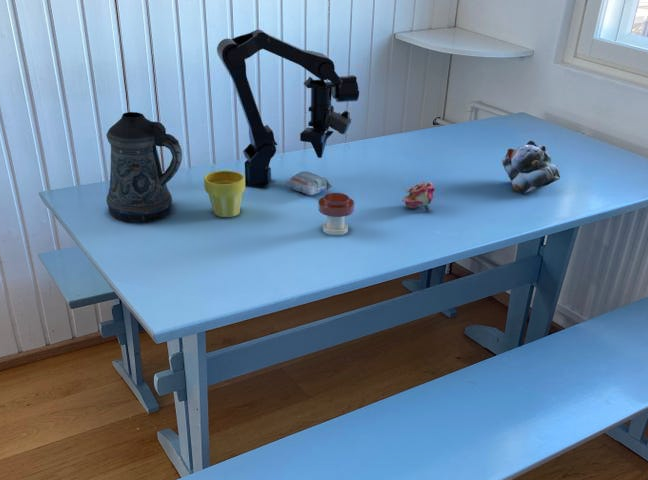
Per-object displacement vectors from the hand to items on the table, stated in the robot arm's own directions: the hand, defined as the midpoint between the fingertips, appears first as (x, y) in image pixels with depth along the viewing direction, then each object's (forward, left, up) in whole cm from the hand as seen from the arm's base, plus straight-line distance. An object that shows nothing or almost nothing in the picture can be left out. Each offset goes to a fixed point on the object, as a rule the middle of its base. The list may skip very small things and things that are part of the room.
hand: (319, 157), depth 214 cm
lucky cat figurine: (+60, +16, -6) cm, 62 cm away
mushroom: (+15, -33, -6) cm, 37 cm away
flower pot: (-15, -33, -6) cm, 37 cm away
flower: (+32, -12, -6) cm, 35 cm away
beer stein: (-35, -39, -6) cm, 53 cm away
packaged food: (0, -12, -6) cm, 13 cm away
